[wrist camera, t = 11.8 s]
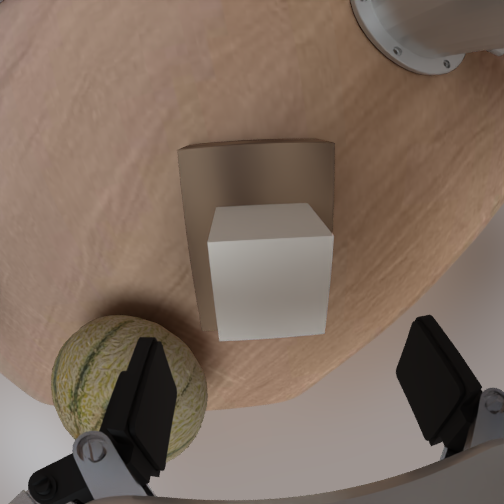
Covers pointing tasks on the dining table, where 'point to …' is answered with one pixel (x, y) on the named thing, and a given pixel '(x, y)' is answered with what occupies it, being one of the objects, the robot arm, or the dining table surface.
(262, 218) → the cream cube
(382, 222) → the dining table surface
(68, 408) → the cantaloupe
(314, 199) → the walnut block
